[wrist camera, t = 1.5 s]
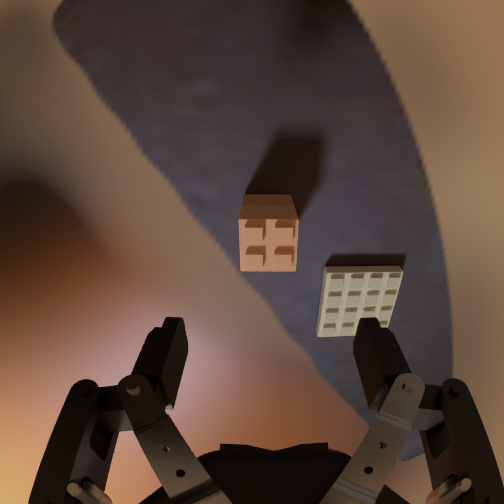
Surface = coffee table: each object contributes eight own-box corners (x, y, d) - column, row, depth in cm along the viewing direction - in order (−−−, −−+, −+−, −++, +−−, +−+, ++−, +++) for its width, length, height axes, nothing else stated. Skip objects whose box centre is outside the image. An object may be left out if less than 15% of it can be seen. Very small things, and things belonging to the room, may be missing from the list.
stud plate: (324, 266, 28) (327, 275, 27) (399, 265, 28) (404, 273, 27) (316, 329, 32) (318, 339, 31) (382, 326, 32) (386, 335, 30)
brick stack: (244, 194, 26) (238, 222, 20) (291, 194, 25) (299, 222, 20) (245, 237, 27) (240, 274, 22) (289, 237, 27) (296, 274, 22)
